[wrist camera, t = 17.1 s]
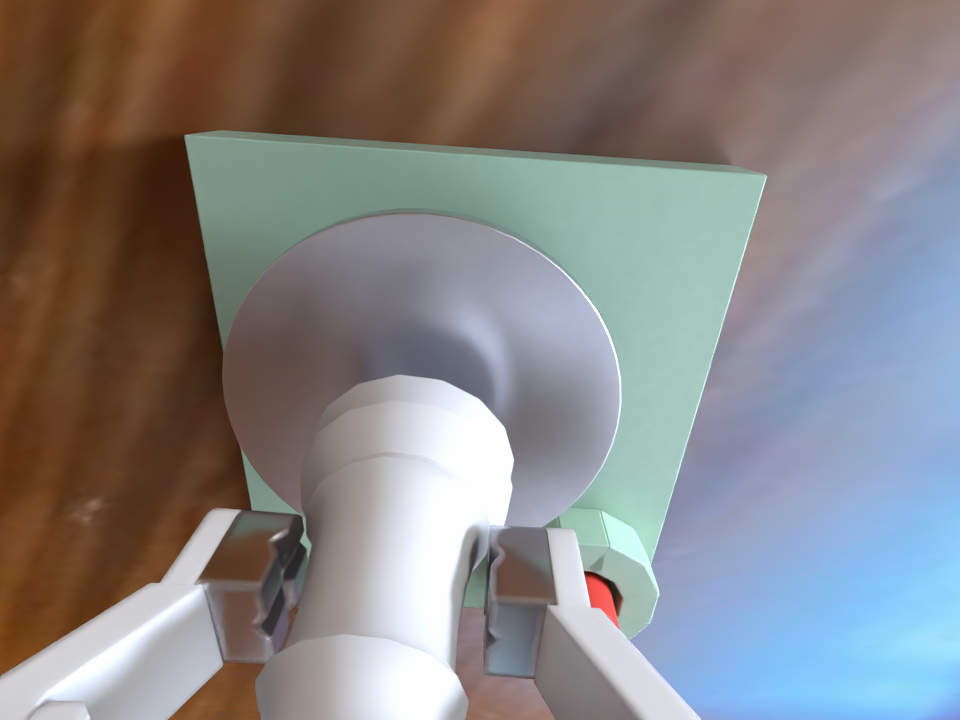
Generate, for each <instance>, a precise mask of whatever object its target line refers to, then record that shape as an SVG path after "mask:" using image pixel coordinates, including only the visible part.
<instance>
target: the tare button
mask: <svg viewBox="0 0 960 720" xmlns="http://www.w3.org/2000/svg"><path fill="white" fill-rule="evenodd" d="M584 576H585V581H586V585H587V590H588V595H589V600H590V605H591V608H600V609H601V610H602V611H603V612H604V613H605V615H606V616H607V617H608V618H609V619H610V620H611V621H612V622H613V623H614V624H615V626H616V627H617V628H618V629H619V630H620V628H619V624H618V620H617V615H616V611H615V607H614V603H613V599H612V595H611V591H610V588H609V586H608V584H607V583H606V581H605V580H604V579H603V578H601V577H600V576H599V575H597V574H595V573H593V572H590V571H584Z"/></svg>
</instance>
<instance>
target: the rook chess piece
mask: <svg viewBox="0 0 960 720" xmlns="http://www.w3.org/2000/svg"><path fill="white" fill-rule="evenodd" d="M513 463H514V458H513V454H512V451H511V448H510V444H509V441H508V437H507V434H506V430H505V427H504V426H503V425H502V424H501V423H500V422H499V421H498V419H497V418H496V417H495V416H494V415H493V414H492V413H491V411H490V410H489V409H488V408H487V407H486V406H485V405H484V404H483V402H482V401H481V400H480V399H478V398H476V397H474V396H472V395H470V394H469V393H467V392H465V391H463V390H461V389H459V388H457V387H455V386H453V385H451V384H449V383H447V382H445V381H443V380H437V379H429V378H422V377H414V376H406V375H395V376H391V377H386V378H382V379H377V380H373V381H369V382H364V383H360V384H357V385H356V386H354V387H353V388H352V389H350V390H349V391H347V392H346V393H345V394H343V395H342V396H340V397H339V398H338V399H336V400H335V401H333V402H332V403H331V404H329V405H328V406H327V407H326V409H325V411H324V413H323V415H322V417H321V419H320V420H319V422H318V424H317V426H316V428H315V430H314V432H313V434H312V436H311V445H310V447H309V449H308V451H307V453H306V455H305V457H304V459H303V460H302V462H301V475H300V481H301V509H302V511H303V513H304V514H305V516H306V536H307V538H308V539H309V541H310V543H311V545H312V546H311V551H310V555H309V560H308V565H307V569H306V574H305V579H304V583H303V588H302V593H301V598H300V602H299V607H298V612H297V615H296V618H295V621H294V624H293V626H292V629H291V632H290V634H289V637H288V640H287V642H286V645H285V648H284V649H283V650H281V651H280V652H278V653H277V654H275V655H274V656H272V657H271V658H269V660H268V661H267V663H266V665H265V666H264V668H263V669H262V671H261V672H260V674H259V676H258V677H257V679H256V680H255V688H256V698H257V707H258V709H259V712H260V715H261V718H260V720H465V717H466V713H467V708H468V703H469V701H468V699H467V697H466V695H465V692H464V690H463V688H462V686H461V684H460V681H459V679H458V677H457V675H456V674H455V663H456V646H457V633H458V628H459V623H460V618H461V613H462V608H463V603H464V598H465V593H466V588H467V584H468V581H469V579H470V576H471V573H472V572H473V570H474V569H475V568H476V567H477V565H478V564H479V563H480V562H481V561H482V559H483V558H484V557H485V556H486V553H487V548H488V539H489V530H490V525H501V526H503V525H504V523H505V520H506V516H507V511H508V506H509V502H510V497H511V492H512V484H511V480H510V478H511V473H512V468H513Z"/></svg>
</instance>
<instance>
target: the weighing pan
mask: <svg viewBox="0 0 960 720" xmlns="http://www.w3.org/2000/svg"><path fill="white" fill-rule="evenodd" d="M395 375H406V376H414V377H422V378H429V379H437V380H443V381H445V382H447V383H449V384H451V385H453V386H455V387H457V388H459V389H461V390H463V391H465V392H467V393H469V394H470V395H472V396H474V397H476V398H478V399H480V400H481V401H482V402H483V404H484V405H485V406H486V407H487V408H488V409H489V410H490V411H491V413H492V414H493V415H494V416H495V417H496V418H497V419H498V421H499V422H500V423H501V424H502V425H503V426H504V427H505V430H506V434H507V437H508V441H509V444H510V448H511V451H512V454H513V458H514V463H513V468H512V473H511V478H510V480H511V484H512V492H511V497H510V502H509V506H508V511H507V516H506V520H505V523H504V525H503V526H521V527H543V526H545V525H546V524H548V523H549V522H551V521H552V520H554V519H555V518H556V517H558V516H559V515H561V514H562V513H563V512H564V511H565V510H567V509H568V508H569V507H570V506H571V505H572V504H573V503H574V502H576V501H577V500H578V499H579V497H580V496H581V495H582V494H583V493H584V492H585V491H586V489H587V488H588V487H589V486H590V485H591V484H592V482H593V481H594V479H595V477H596V476H597V474H598V473H599V471H600V470H601V468H602V467H603V465H604V463H605V461H606V458H607V456H608V454H609V452H610V450H611V448H612V445H613V442H614V439H615V435H616V432H617V429H618V425H619V418H620V411H621V404H622V398H621V376H620V370H619V364H618V358H617V355H616V352H615V349H614V346H613V343H612V340H611V337H610V334H609V332H608V330H607V328H606V326H605V324H604V322H603V320H602V318H601V316H600V315H599V313H598V311H597V309H596V307H595V305H594V303H593V302H592V300H591V299H590V297H589V296H588V295H587V293H586V292H585V290H584V289H583V288H582V286H581V285H580V283H579V282H578V281H577V280H576V279H575V278H574V277H573V276H572V275H571V274H570V273H569V272H568V271H567V270H566V269H565V268H564V267H563V266H562V264H561V263H559V262H558V261H557V260H556V259H554V258H553V257H552V256H550V255H549V254H548V253H547V252H545V251H544V250H543V249H542V248H540V247H539V246H538V245H536V244H534V243H532V242H531V241H529V240H527V239H526V238H524V237H522V236H521V235H519V234H517V233H516V232H514V231H511V230H509V229H507V228H504V227H502V226H500V225H497V224H495V223H492V222H490V221H488V220H485V219H481V218H477V217H474V216H470V215H466V214H463V213H459V212H453V211H445V210H438V209H430V208H396V209H388V210H381V211H374V212H368V213H364V214H361V215H357V216H354V217H350V218H346V219H343V220H340V221H338V222H336V223H333V224H331V225H329V226H327V227H324V228H322V229H320V230H318V231H315V232H314V233H312V234H311V235H309V236H308V237H306V238H304V239H303V240H301V241H300V242H298V243H297V244H295V245H293V246H292V247H291V248H289V249H288V250H287V251H285V252H284V253H283V254H282V255H281V256H280V257H279V258H277V259H276V260H275V261H274V262H273V263H272V264H271V265H270V266H268V267H267V268H266V269H265V270H264V271H263V273H262V274H261V275H260V276H259V277H258V279H257V280H256V281H255V282H254V283H253V285H252V286H251V287H250V288H249V290H248V291H247V293H246V295H245V296H244V298H243V300H242V302H241V303H240V305H239V307H238V308H237V310H236V313H235V315H234V318H233V320H232V323H231V326H230V328H229V331H228V334H227V339H226V344H225V349H224V354H223V368H222V384H223V393H224V402H225V406H226V409H227V413H228V417H229V421H230V424H231V426H232V429H233V431H234V434H235V436H236V438H237V441H238V443H239V445H240V447H241V449H242V450H243V452H244V454H245V455H246V457H247V459H248V460H249V462H250V464H251V465H252V466H253V468H254V469H255V470H256V472H257V473H258V474H259V476H260V477H261V478H262V479H263V481H264V482H265V483H266V484H267V485H268V486H269V487H270V488H271V489H272V490H273V491H274V492H275V493H276V494H277V495H278V496H279V497H280V498H281V499H282V500H283V501H285V502H286V503H287V504H288V505H289V506H291V507H292V508H293V509H294V510H296V511H297V512H298V513H300V514H301V515H303V516H304V517H306V516H305V514H304V513H303V511H302V509H301V481H300V475H301V462H302V460H303V459H304V457H305V455H306V453H307V451H308V449H309V447H310V445H311V436H312V434H313V432H314V430H315V428H316V426H317V424H318V422H319V420H320V419H321V417H322V415H323V413H324V411H325V409H326V407H327V406H328V405H329V404H331V403H332V402H333V401H335V400H336V399H338V398H339V397H340V396H342V395H343V394H345V393H346V392H347V391H349V390H350V389H352V388H353V387H354V386H356V385H357V384H360V383H364V382H369V381H373V380H377V379H382V378H386V377H391V376H395ZM487 549H488V548H487Z"/></svg>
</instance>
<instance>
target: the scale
mask: <svg viewBox="0 0 960 720" xmlns="http://www.w3.org/2000/svg"><path fill="white" fill-rule="evenodd" d="M184 139H185V144H186V150H187V155H188V161H189V166H190V172H191V177H192V183H193V188H194V194H195V199H196V205H197V210H198V216H199V221H200V227H201V233H202V238H203V244H204V249H205V255H206V260H207V266H208V271H209V277H210V282H211V288H212V293H213V299H214V304H215V310H216V315H217V321H218V326H219V332H220V337H221V343H222V348H223V354H224V349H225V344H226V339H227V334H228V331H229V328H230V326H231V323H232V320H233V318H234V315H235V313H236V310H237V308H238V307H239V305H240V303H241V302H242V300H243V298H244V296H245V295H246V293H247V291H248V290H249V288H250V287H251V286H252V285H253V283H254V282H255V281H256V280H257V279H258V277H259V276H260V275H261V274H262V273H263V271H264V270H265V269H266V268H267V267H268V266H270V265H271V264H272V263H273V262H274V261H275V260H276V259H277V258H279V257H280V256H281V255H282V254H283V253H284V252H285V251H287V250H288V249H289V248H291V247H292V246H293V245H295V244H297V243H298V242H300V241H301V240H303V239H304V238H306V237H308V236H309V235H311V234H312V233H314V232H315V231H318V230H320V229H322V228H324V227H327V226H329V225H331V224H333V223H336V222H338V221H340V220H343V219H346V218H350V217H354V216H357V215H361V214H364V213H368V212H374V211H381V210H388V209H396V208H430V209H438V210H445V211H453V212H459V213H463V214H466V215H470V216H474V217H477V218H481V219H485V220H488V221H490V222H492V223H495V224H497V225H500V226H502V227H504V228H507V229H509V230H511V231H514V232H516V233H517V234H519V235H521V236H522V237H524V238H526V239H527V240H529V241H531V242H532V243H534V244H536V245H538V246H539V247H540V248H542V249H543V250H544V251H545V252H547V253H548V254H549V255H550V256H552V257H553V258H554V259H556V260H557V261H558V262H559V263H561V264H562V266H563V267H564V268H565V269H566V270H567V271H568V272H569V273H570V274H571V275H572V276H573V277H574V278H575V279H576V280H577V281H578V282H579V283H580V285H581V286H582V288H583V289H584V290H585V292H586V293H587V295H588V296H589V297H590V299H591V300H592V302H593V303H594V305H595V307H596V309H597V311H598V313H599V315H600V316H601V318H602V320H603V322H604V324H605V326H606V328H607V330H608V332H609V334H610V337H611V340H612V343H613V346H614V349H615V352H616V355H617V358H618V364H619V370H620V376H621V398H622V404H621V411H620V418H619V425H618V429H617V432H616V435H615V439H614V442H613V445H612V448H611V450H610V452H609V454H608V456H607V458H606V461H605V463H604V465H603V467H602V468H601V470H600V471H599V473H598V474H597V476H596V477H595V479H594V481H593V482H592V484H591V485H590V486H589V487H588V488H587V489H586V491H585V492H584V493H583V494H582V495H581V496H580V497H579V499H578V500H577V501H576V502H574V503H573V504H572V505H571V506H570V507H569V508H568V509H567V510H565V511H564V512H563V513H562V514H561V515H559V516H558V517H556V518H555V519H554V520H552V521H551V522H549V523H548V524H546V525H545V526H543V527H541V528H544V529H545V528H565V529H573V530H574V531H575V533H576V537H577V541H578V546H579V551H580V556H581V561H582V566H583V571H590V572H593V573H595V574H597V575H599V576H600V577H601V578H603V579H604V580H605V581H606V583H607V584H608V586H609V588H610V591H611V595H612V599H613V603H614V607H615V611H616V615H617V620H618V624H619V628H620V631H621V632H622V633H623V634H624V635H625V636H626V638H627V639H628V640H630V639H631V638H633V637H634V636H635V635H636V634H638V633H639V632H640V631H641V630H643V629H644V628H645V627H646V626H648V625H649V623H650V622H651V619H652V616H653V613H654V610H655V607H656V603H657V600H658V597H659V589H658V586H657V583H656V580H655V577H654V574H653V571H652V568H651V563H652V559H653V556H654V553H655V549H656V546H657V543H658V539H659V536H660V533H661V529H662V526H663V523H664V519H665V516H666V513H667V509H668V506H669V502H670V499H671V496H672V492H673V489H674V486H675V482H676V479H677V476H678V472H679V469H680V466H681V462H682V459H683V456H684V452H685V449H686V446H687V442H688V439H689V436H690V432H691V429H692V426H693V422H694V419H695V415H696V412H697V409H698V405H699V402H700V399H701V395H702V392H703V389H704V385H705V382H706V379H707V375H708V372H709V369H710V365H711V362H712V359H713V355H714V352H715V349H716V345H717V342H718V339H719V335H720V332H721V328H722V325H723V322H724V318H725V315H726V312H727V308H728V305H729V302H730V298H731V295H732V292H733V288H734V285H735V282H736V278H737V275H738V272H739V268H740V265H741V262H742V258H743V255H744V252H745V248H746V245H747V241H748V238H749V235H750V231H751V228H752V225H753V221H754V218H755V215H756V211H757V208H758V205H759V201H760V198H761V195H762V191H763V188H764V185H765V181H766V178H767V175H765V174H762V173H759V172H755V171H752V170H748V169H744V168H741V167H737V166H734V165H719V164H705V163H690V162H676V161H661V160H647V159H632V158H618V157H603V156H589V155H574V154H560V153H545V152H531V151H516V150H502V149H487V148H473V147H458V146H443V145H429V144H414V143H400V142H385V141H371V140H356V139H342V138H327V137H313V136H298V135H284V134H269V133H255V132H240V131H226V130H218V131H211V132H203V133H195V134H187V135H185V136H184ZM240 448H241V447H240ZM241 453H242V459H243V464H244V470H245V475H246V481H247V486H248V492H249V497H250V503H251V508H252V510H255V511H267V512H279V513H291V514H299V515H301V514H300V513H298V512H297V511H296V510H294V509H293V508H292V507H291V506H289V505H288V504H287V503H286V502H285V501H283V500H282V499H281V498H280V497H279V496H278V495H277V494H276V493H275V492H274V491H273V490H272V489H271V488H270V487H269V486H268V485H267V484H266V483H265V482H264V481H263V479H262V478H261V477H260V476H259V474H258V473H257V472H256V470H255V469H254V468H253V466H252V465H251V464H250V462H249V460H248V459H247V457H246V455H245V454H244V452H243V450H242V449H241ZM301 516H302V518H303V524H304V532H303V535H302V537H301V540H300V542H301V543H302V544H303V545H304V546H305V547H306V548H307V556H308V560H309V555H310V551H311V546H312V545H311V543H310V541H309V539H308V538H307V536H306V517H304V516H303V515H301ZM487 558H488V549H487V553H486V556H485V557H484V558H483V559H482V561H481V562H480V563H479V564H478V565H477V567H476V568H475V569H474V570H473V572H472V573H471V576H470V579H469V581H468V584H467V588H466V593H465V598H464V603H463V606H465V607H483V608H484V587H485V573H486V560H487Z"/></svg>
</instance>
